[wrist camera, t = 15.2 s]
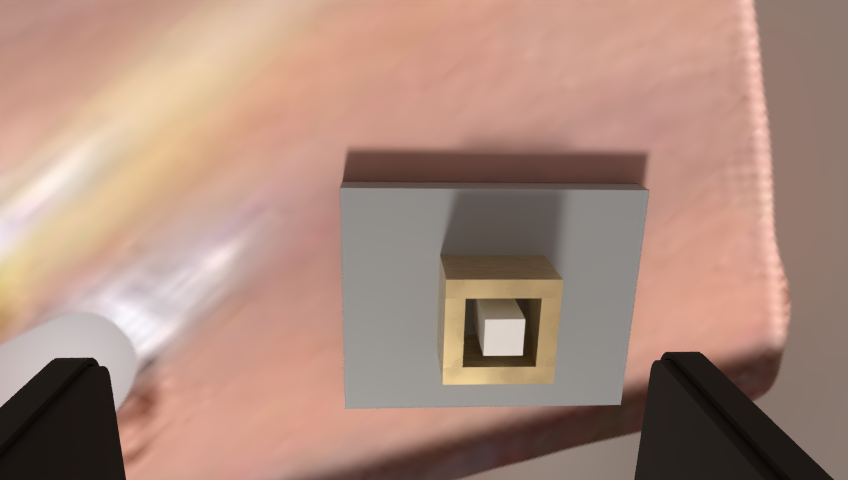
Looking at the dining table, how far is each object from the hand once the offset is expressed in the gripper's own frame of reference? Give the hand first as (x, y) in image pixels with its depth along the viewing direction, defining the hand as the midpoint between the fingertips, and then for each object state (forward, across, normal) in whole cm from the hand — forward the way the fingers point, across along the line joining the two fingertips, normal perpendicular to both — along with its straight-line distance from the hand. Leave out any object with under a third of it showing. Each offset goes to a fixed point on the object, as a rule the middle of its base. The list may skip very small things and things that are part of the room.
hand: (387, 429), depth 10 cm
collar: (+28, -7, +10) cm, 31 cm away
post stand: (+30, -7, +10) cm, 33 cm away
